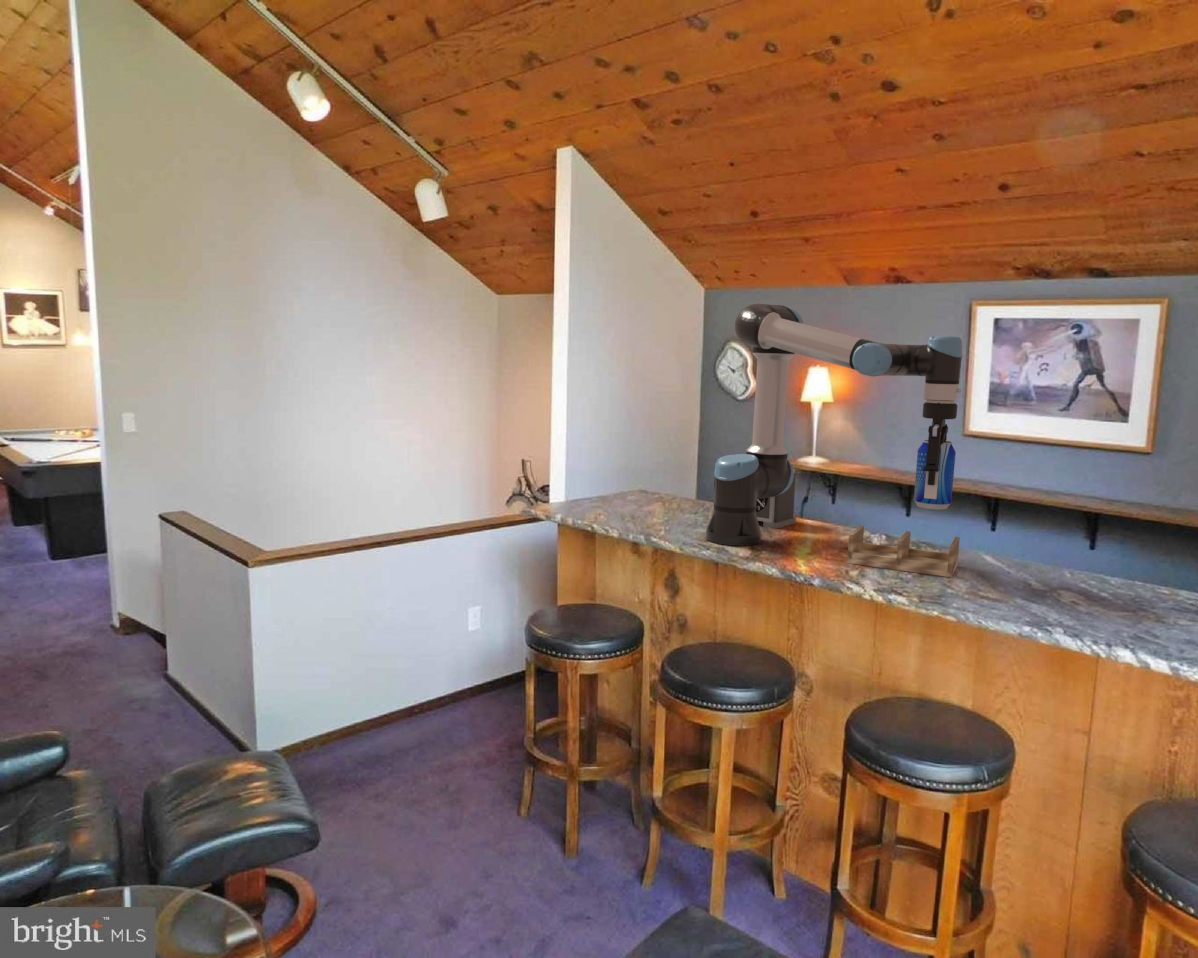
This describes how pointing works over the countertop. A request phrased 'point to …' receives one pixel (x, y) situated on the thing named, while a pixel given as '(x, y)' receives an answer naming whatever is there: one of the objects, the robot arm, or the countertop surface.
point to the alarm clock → (777, 508)
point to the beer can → (943, 479)
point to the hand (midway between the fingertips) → (932, 495)
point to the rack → (902, 555)
